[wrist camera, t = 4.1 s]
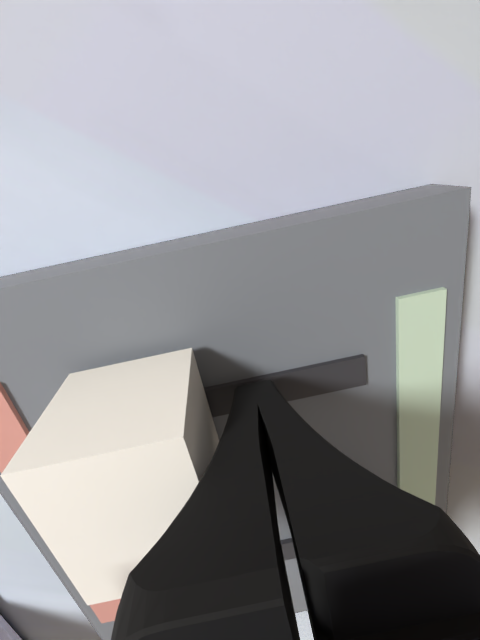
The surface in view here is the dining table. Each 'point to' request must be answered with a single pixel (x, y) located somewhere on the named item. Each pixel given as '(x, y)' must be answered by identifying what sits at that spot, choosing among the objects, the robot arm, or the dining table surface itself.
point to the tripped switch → (114, 465)
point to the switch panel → (267, 334)
